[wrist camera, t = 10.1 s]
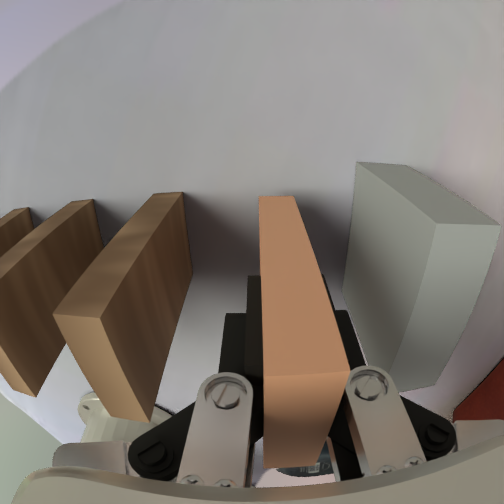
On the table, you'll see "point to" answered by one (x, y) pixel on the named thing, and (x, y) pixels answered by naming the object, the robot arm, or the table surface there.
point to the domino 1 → (14, 228)
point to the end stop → (413, 270)
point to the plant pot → (484, 399)
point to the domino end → (296, 341)
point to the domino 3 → (130, 308)
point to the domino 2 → (42, 291)
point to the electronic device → (320, 468)
